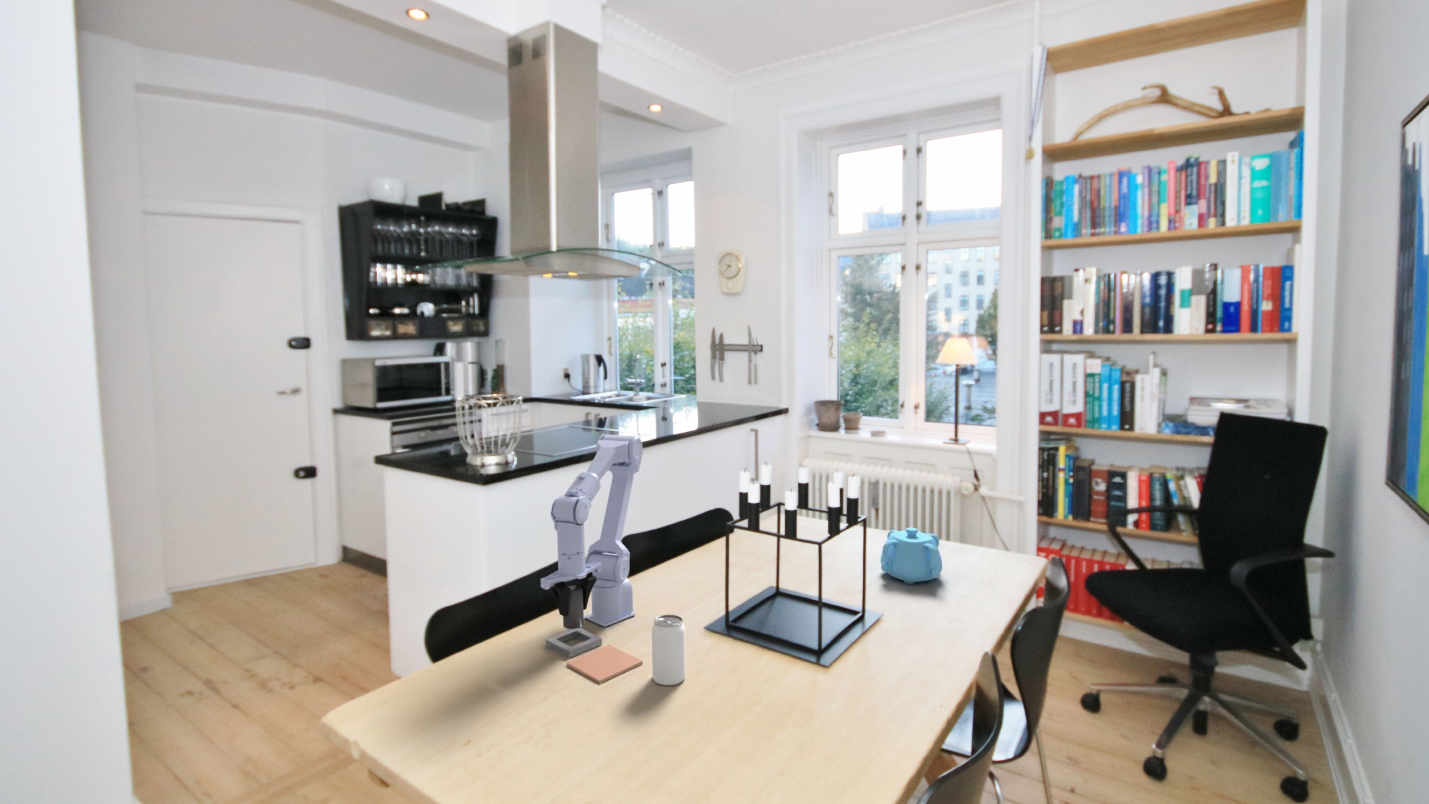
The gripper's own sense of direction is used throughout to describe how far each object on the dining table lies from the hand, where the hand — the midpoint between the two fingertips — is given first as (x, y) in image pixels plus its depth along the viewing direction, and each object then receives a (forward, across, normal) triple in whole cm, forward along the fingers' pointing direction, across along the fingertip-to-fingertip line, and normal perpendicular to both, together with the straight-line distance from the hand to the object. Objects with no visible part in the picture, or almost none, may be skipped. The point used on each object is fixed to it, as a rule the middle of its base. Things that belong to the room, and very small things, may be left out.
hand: (573, 611), depth 155 cm
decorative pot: (+8, +88, -34) cm, 95 cm away
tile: (+8, -1, -12) cm, 14 cm away
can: (+8, +4, -26) cm, 27 cm away
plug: (+3, 0, 0) cm, 3 cm away
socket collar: (+8, 0, 0) cm, 8 cm away
